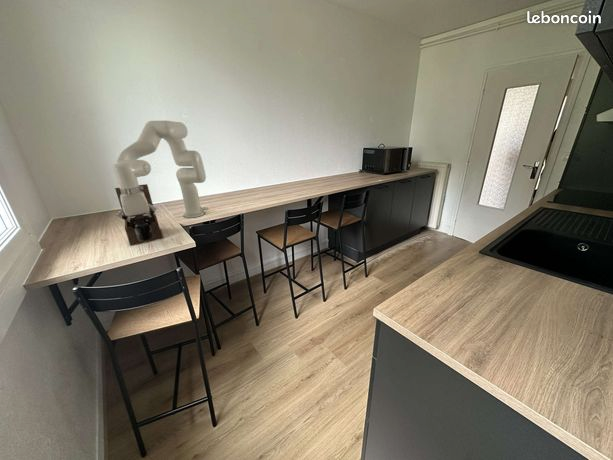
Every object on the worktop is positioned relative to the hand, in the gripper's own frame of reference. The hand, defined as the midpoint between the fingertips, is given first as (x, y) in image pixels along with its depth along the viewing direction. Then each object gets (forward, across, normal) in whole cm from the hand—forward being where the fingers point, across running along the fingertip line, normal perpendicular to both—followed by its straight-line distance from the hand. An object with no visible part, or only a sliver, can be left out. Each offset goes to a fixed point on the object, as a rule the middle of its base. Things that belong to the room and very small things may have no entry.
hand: (142, 225), depth 122 cm
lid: (-6, 0, -25) cm, 26 cm away
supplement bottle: (+7, 0, 0) cm, 7 cm away
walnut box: (+13, 0, -16) cm, 21 cm away
